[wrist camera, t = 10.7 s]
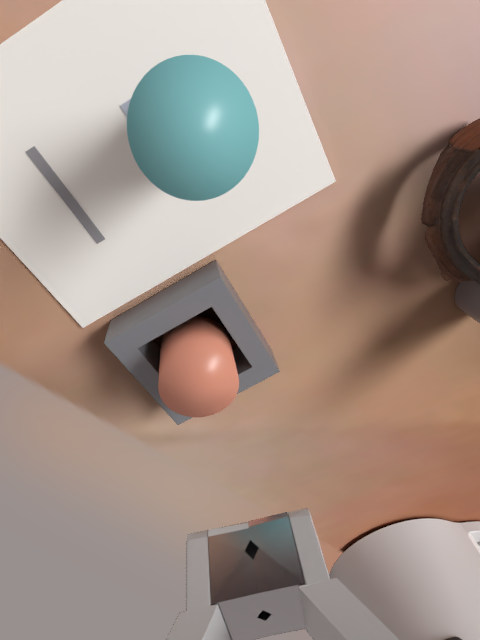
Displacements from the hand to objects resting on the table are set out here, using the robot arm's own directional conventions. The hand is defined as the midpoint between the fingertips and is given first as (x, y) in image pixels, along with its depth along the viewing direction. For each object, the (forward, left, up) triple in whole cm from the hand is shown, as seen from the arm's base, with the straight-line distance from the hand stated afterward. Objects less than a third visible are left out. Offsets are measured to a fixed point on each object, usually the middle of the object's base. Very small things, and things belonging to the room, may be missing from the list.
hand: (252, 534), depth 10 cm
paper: (+8, -1, -15) cm, 17 cm away
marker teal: (+8, -3, -15) cm, 17 cm away
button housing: (-2, +2, -15) cm, 15 cm away
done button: (-2, +2, -13) cm, 14 cm away
